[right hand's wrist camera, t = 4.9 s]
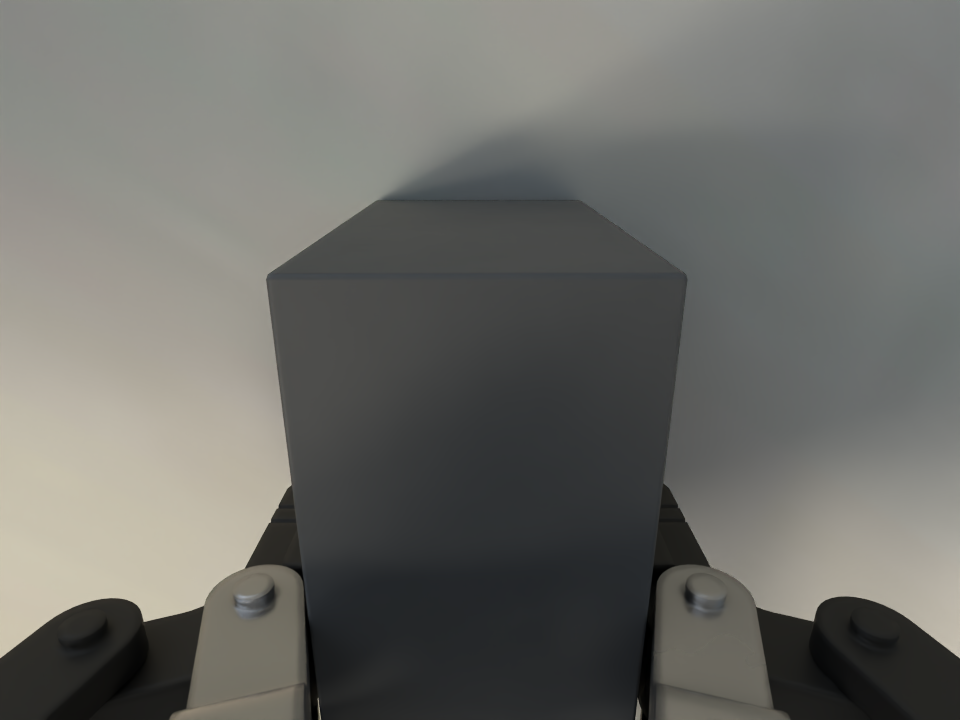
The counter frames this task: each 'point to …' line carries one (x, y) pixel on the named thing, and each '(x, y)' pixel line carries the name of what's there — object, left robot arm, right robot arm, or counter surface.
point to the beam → (477, 456)
